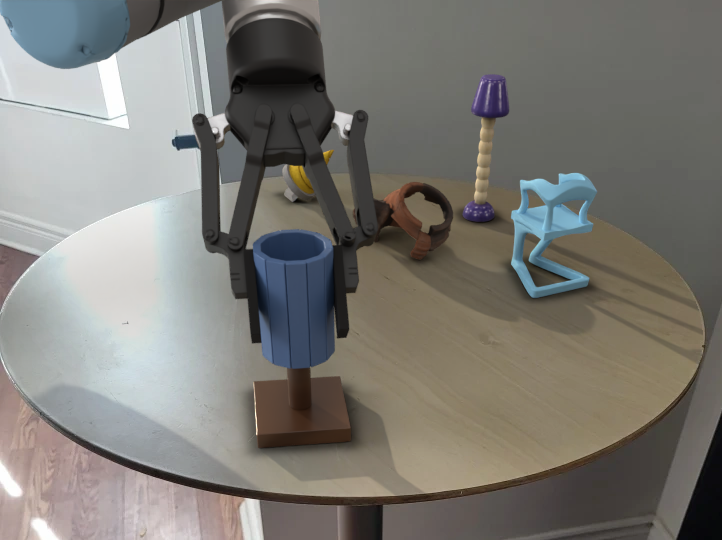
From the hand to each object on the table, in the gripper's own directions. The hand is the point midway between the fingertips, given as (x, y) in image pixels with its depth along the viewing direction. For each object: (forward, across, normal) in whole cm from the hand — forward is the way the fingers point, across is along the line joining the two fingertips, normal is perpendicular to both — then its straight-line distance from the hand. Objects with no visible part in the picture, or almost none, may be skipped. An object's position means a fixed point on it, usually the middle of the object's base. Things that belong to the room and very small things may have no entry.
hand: (299, 335), depth 60 cm
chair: (-12, -30, -27) cm, 42 cm away
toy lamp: (-25, -27, -40) cm, 54 cm away
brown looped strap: (-19, -15, -34) cm, 42 cm away
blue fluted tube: (0, 0, -5) cm, 5 cm away
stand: (+5, 0, -10) cm, 11 cm away
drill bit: (-30, -5, -45) cm, 55 cm away
